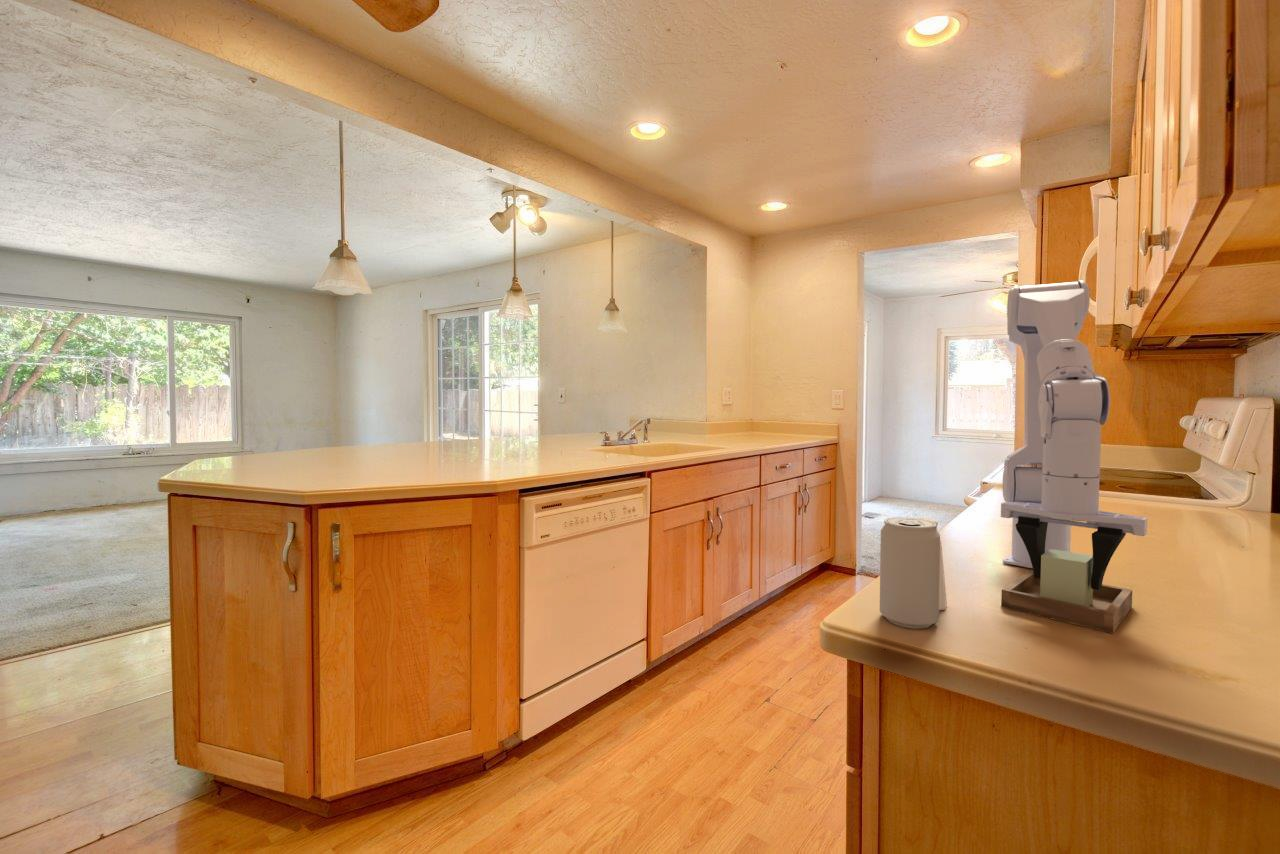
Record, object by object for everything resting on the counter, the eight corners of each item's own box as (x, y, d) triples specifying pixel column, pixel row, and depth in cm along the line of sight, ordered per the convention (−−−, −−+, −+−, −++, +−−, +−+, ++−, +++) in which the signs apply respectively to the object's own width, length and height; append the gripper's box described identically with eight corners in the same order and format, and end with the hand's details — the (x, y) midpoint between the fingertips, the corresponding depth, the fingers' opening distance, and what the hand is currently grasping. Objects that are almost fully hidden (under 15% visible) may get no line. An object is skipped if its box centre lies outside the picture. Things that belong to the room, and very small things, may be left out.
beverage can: (877, 625, 66) (878, 523, 65) (881, 607, 72) (883, 513, 71) (938, 635, 63) (940, 529, 62) (938, 615, 69) (940, 518, 68)
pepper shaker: (896, 595, 76) (897, 514, 75) (939, 597, 75) (941, 515, 74) (907, 610, 71) (908, 523, 70) (954, 612, 70) (956, 524, 69)
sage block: (1049, 593, 74) (1050, 548, 74) (1092, 602, 71) (1094, 555, 71) (1039, 602, 71) (1041, 555, 71) (1084, 612, 68) (1085, 563, 68)
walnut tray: (1029, 585, 79) (1029, 570, 79) (1131, 606, 71) (1132, 589, 71) (1001, 606, 71) (1001, 589, 71) (1112, 633, 63) (1113, 614, 63)
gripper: (994, 472, 73) (991, 575, 74) (1141, 484, 62) (1137, 605, 63) (1011, 467, 78) (1008, 564, 79) (1151, 478, 67) (1147, 590, 68)
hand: (1067, 581), depth 71 cm, fingers open, 5 cm apart
